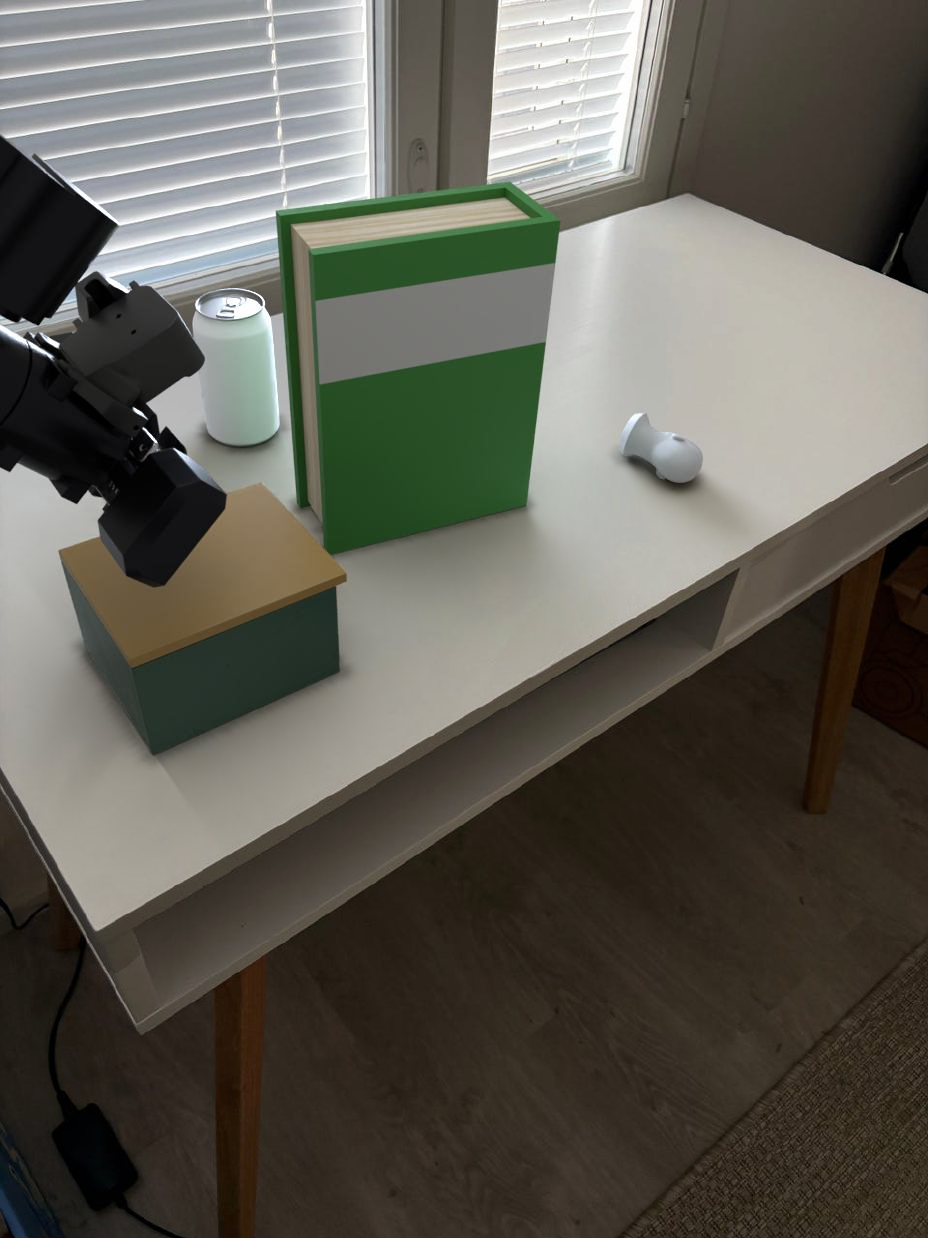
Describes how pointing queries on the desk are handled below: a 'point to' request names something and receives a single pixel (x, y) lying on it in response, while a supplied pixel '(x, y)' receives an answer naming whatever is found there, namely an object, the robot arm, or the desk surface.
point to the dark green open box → (216, 668)
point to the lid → (207, 579)
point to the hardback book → (414, 356)
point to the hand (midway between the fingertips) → (215, 508)
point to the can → (237, 367)
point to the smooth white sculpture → (661, 450)
